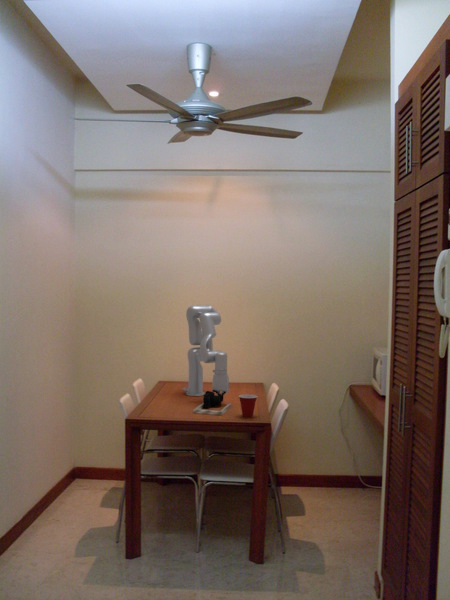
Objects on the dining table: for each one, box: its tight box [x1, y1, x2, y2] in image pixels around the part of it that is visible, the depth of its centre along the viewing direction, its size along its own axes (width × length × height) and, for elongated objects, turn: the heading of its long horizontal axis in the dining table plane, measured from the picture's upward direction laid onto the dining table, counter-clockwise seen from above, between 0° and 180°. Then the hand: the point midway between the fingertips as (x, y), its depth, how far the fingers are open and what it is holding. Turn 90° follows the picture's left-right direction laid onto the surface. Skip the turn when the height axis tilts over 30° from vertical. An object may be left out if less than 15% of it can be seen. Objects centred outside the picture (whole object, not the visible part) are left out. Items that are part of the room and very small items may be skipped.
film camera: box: [202, 390, 223, 410], centre depth 332 cm, size 15×10×9 cm, turn 167°
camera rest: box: [192, 402, 232, 416], centre depth 324 cm, size 17×22×2 cm
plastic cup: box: [238, 394, 258, 418], centre depth 311 cm, size 11×11×12 cm
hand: (220, 401), depth 338 cm, fingers closed
